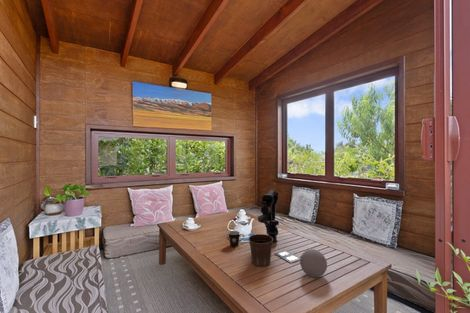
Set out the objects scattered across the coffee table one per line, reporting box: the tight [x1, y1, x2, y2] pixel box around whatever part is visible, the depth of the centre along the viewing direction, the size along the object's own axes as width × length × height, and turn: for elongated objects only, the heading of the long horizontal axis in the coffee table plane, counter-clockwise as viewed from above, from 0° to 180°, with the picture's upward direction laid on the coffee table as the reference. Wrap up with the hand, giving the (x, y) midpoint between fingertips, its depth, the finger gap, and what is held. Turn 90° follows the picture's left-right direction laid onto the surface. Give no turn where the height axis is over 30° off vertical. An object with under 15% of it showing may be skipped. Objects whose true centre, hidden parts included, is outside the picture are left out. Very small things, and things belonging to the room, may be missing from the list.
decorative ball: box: [299, 248, 328, 278], centre depth 135 cm, size 15×15×15 cm
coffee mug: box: [228, 230, 245, 248], centre depth 180 cm, size 12×9×10 cm
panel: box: [274, 249, 301, 264], centre depth 159 cm, size 10×16×1 cm, turn 30°
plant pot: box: [248, 233, 273, 268], centre depth 152 cm, size 16×16×16 cm
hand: (268, 231), depth 173 cm, fingers closed
